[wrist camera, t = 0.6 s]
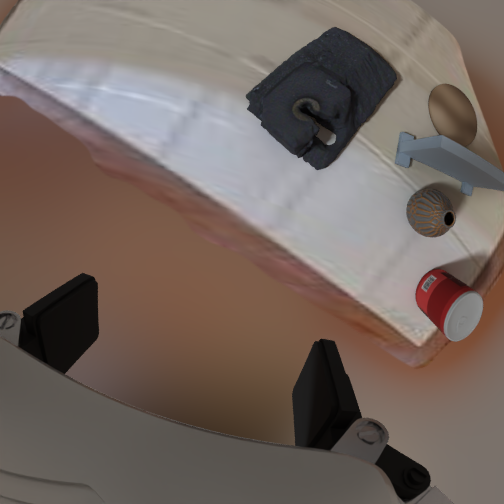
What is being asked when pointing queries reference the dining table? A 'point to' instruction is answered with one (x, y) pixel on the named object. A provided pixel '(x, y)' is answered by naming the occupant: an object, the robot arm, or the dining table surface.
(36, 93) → the dining table surface
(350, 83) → the dark slate chunk
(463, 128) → the coaster
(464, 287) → the canned food
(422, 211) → the vase
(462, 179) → the screen
